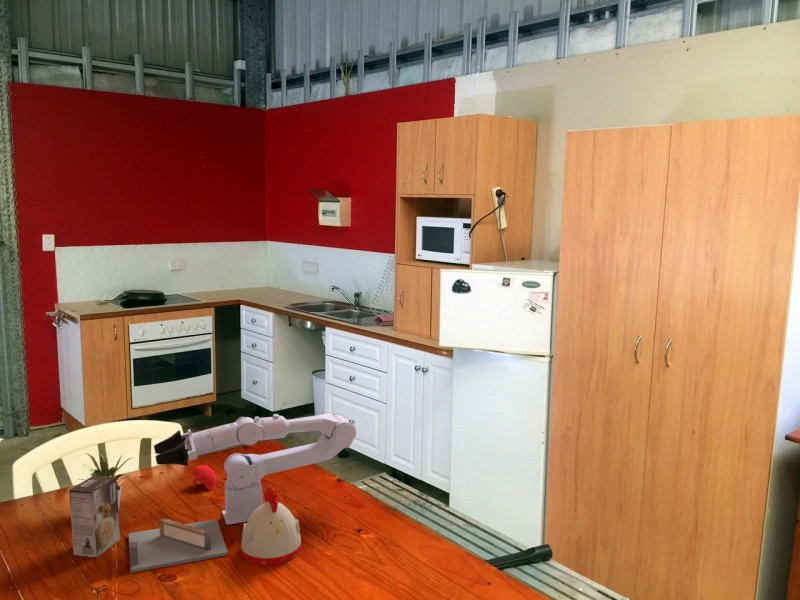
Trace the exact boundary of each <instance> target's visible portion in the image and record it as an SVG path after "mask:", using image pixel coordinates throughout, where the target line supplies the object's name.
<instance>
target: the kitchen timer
mask: <svg viewBox="0 0 800 600" xmlns="http://www.w3.org/2000/svg"><path fill="white" fill-rule="evenodd" d="M274 491H275V490H273V488H272V487H269V488H267V490H265V492H263V498H264V502H263V504H261V505H260V506H259V507H258V508H257V509H256V510H255V511H254V512H253V513H252V515H251V516H250V518H249V520H248V521H247V523H246V522H243V528H242V535H241V537H242V538H241V543H240V544H241V545H240V550H241V552H240V553H241V556H242V557H243V558H244V560H245V561H247V562H249V563H251V564H255V565H256V564H257V565H260V566H261V565H262V566H263V565H264V566H269V565H278V564H283V563H286V562H288V561H291V560H292V559H294V558H296V557H297V556H298V555H299V554H300V553H301V550H302V538H301V528H300V524H299V523H300V522H299V519H298V518H295V516H294V515H293V514H292V512H291V511H290V510H289V509H288V507H286V506H285V505H284V504H282V503H281V502H278V501H277V494H276V493H274Z"/></svg>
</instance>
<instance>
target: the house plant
mask: <svg viewBox="0 0 800 600" xmlns="http://www.w3.org/2000/svg"><path fill="white" fill-rule="evenodd" d="M110 453H111V452H109V455H108V456H107V457H105V456H104V455H103V454H101V453H100V452H98V457H99V465H98V463H97V461H96V459H95V457H94V456H93V455H91V454H90V453H86V452H84V454H86V455H88V457H89V458H90V459H91V461H92V462H93V464H94V466H95V468H96V469H95V468H94V469H93V468H92V466H89V468H90V469H89V468H88V467H87V469H88V470H90V472H91V473H90V474H89V475H90V477H92V476H94V475H95V476H108V477H117V480H118V481H117V494H118V510H120V502H121V494H122V485H120V484H119V483H120V482H121V481H122V480H124V479H125V478H130V476H129V475H126V474H125V473H119V474H117V472H118V471H119V470H120V469H121V468H122V466H124V465H125V464H126V463H127V461H129V460H132V459H133V458H134V457H129V458H127V459H126V460H125V461H123V463H122V464H121V465H119V463H120V461H121V460H122V459H121V458H122V456H123V454H121V456H120V457H119V458H118V460H117V462H116V464H115V466H111V467H110V468H109V464H108V463H109V462H108V460H109V456H110ZM83 465H84V466H83V467H85V466H86V464H84V463H83ZM118 466H119V467H118ZM85 468H86V467H85ZM116 474H117V475H116ZM122 476H124V477H122ZM120 477H122V478H121V479H120V480H119V478H120ZM77 480H79V481H82V480H83V481H85V479H82V478H79V479H78V478H77Z"/></svg>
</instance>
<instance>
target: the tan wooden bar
mask: <svg viewBox="0 0 800 600" xmlns="http://www.w3.org/2000/svg"><path fill="white" fill-rule="evenodd" d="M158 521H159V522H158V524H159V525H158V526H159V528H160V535H165V536H168V537H171V538H175V539H178V540H181V541H184V542H188V543H191V544H194V545H197V546H200V547H206V546H205V532H206V530H202V529H199V528H196V527H192V526H189V525H185V524H186V523H185V524H184V523H181V522H179V521H175V520H171V519H168V518H165V517H163V518H161V519H159V520H158ZM159 528H158V529H159Z"/></svg>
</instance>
